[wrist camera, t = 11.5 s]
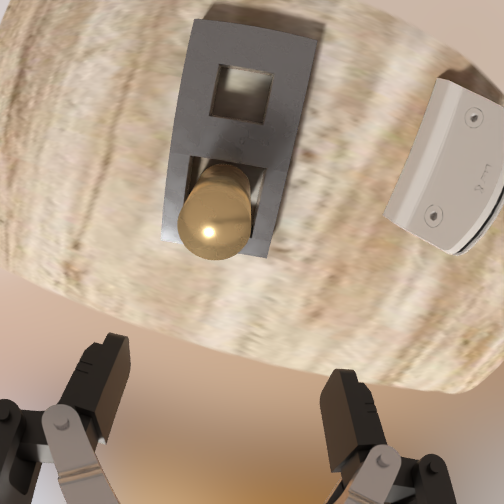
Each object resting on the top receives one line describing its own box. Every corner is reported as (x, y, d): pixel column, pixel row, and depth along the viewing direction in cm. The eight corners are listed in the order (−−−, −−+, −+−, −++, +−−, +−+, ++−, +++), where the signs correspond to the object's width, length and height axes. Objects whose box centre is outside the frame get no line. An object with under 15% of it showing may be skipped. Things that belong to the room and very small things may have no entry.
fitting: (255, 169, 28) (258, 199, 20) (244, 218, 31) (243, 265, 23) (201, 159, 28) (181, 185, 20) (193, 210, 30) (174, 253, 22)
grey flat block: (311, 45, 23) (317, 40, 21) (265, 246, 32) (266, 258, 30) (198, 25, 22) (194, 18, 20) (166, 229, 31) (160, 240, 29)
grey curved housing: (438, 74, 24) (522, 98, 16) (460, 94, 26) (535, 122, 18) (380, 218, 31) (449, 273, 23) (406, 225, 33) (469, 276, 25)
